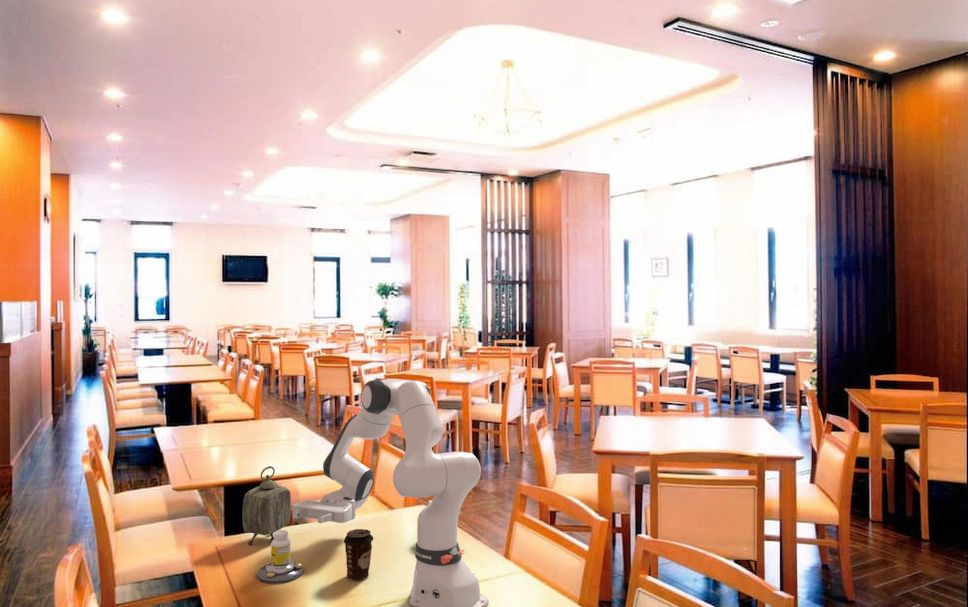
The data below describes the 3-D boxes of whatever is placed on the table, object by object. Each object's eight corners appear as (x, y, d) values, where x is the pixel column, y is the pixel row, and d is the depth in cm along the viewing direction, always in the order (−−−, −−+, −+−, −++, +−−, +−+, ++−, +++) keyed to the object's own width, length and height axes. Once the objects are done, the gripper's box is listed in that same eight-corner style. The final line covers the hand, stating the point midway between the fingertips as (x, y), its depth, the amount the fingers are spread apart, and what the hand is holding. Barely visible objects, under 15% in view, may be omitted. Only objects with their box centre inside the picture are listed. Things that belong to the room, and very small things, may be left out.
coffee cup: (376, 571, 198) (377, 528, 198) (369, 583, 190) (369, 538, 190) (348, 570, 199) (348, 527, 199) (339, 581, 191) (340, 537, 191)
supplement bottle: (270, 563, 197) (270, 530, 197) (289, 560, 199) (289, 528, 199) (271, 570, 192) (271, 536, 192) (291, 567, 194) (291, 534, 194)
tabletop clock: (270, 532, 231) (271, 460, 230) (292, 535, 227) (293, 463, 227) (242, 546, 217) (242, 470, 217) (264, 550, 214) (265, 473, 214)
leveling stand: (311, 573, 196) (311, 565, 196) (271, 587, 187) (271, 578, 187) (288, 561, 205) (288, 553, 205) (248, 574, 195) (249, 565, 195)
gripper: (307, 493, 223) (280, 504, 211) (359, 500, 215) (333, 512, 203) (307, 511, 223) (280, 524, 211) (359, 519, 215) (333, 532, 203)
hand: (307, 518), depth 207 cm, fingers open, 8 cm apart
